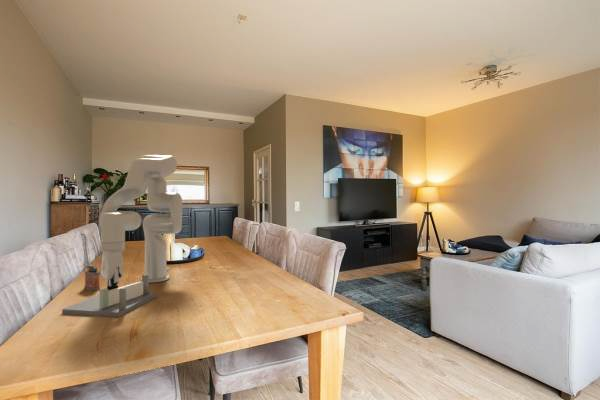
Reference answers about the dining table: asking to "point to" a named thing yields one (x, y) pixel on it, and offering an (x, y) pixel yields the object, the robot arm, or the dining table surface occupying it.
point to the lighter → (92, 278)
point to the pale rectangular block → (113, 296)
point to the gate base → (116, 310)
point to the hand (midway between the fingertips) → (112, 296)
